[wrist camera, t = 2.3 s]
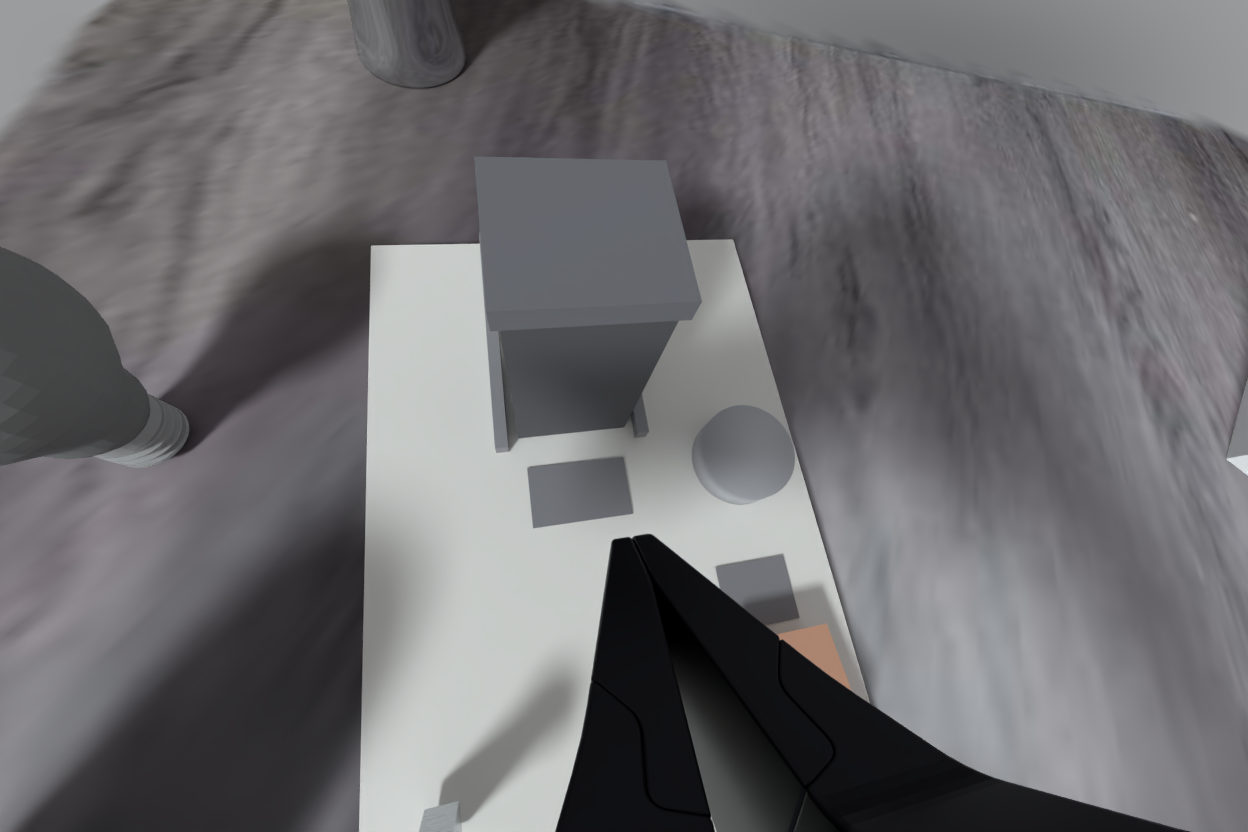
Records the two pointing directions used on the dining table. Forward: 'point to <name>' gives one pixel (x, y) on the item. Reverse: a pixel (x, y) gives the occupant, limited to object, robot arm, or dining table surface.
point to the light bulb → (71, 379)
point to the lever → (442, 818)
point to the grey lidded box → (581, 283)
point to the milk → (1240, 436)
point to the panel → (548, 534)
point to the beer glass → (408, 40)
